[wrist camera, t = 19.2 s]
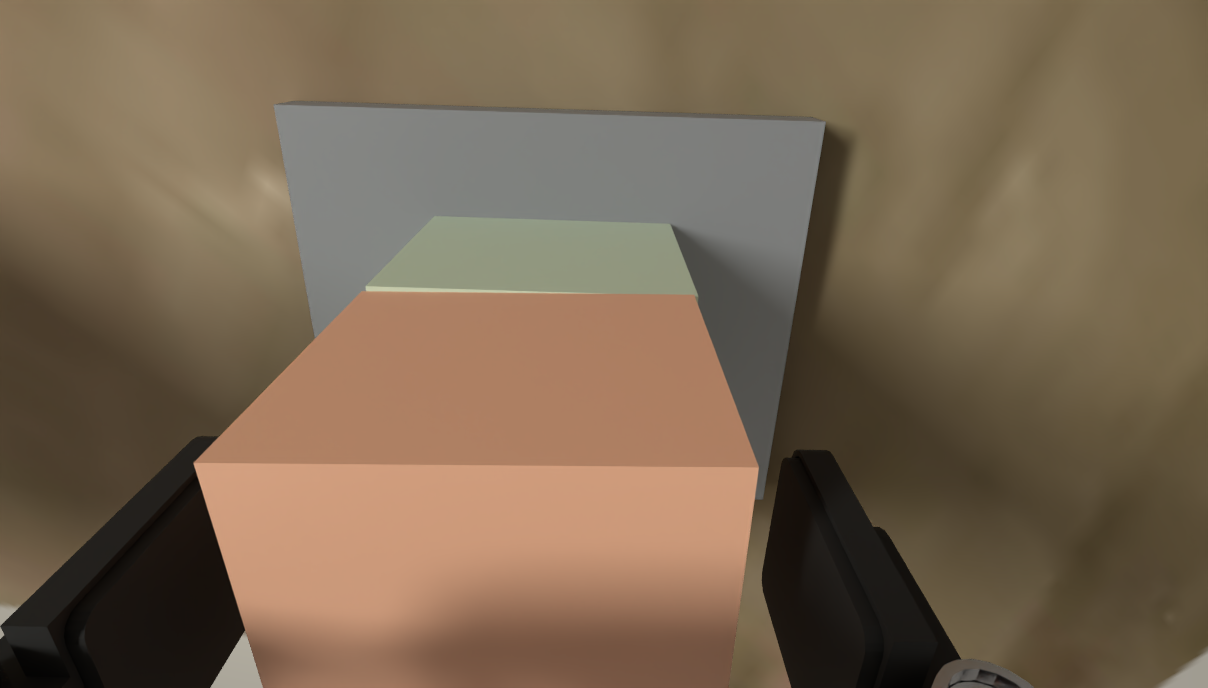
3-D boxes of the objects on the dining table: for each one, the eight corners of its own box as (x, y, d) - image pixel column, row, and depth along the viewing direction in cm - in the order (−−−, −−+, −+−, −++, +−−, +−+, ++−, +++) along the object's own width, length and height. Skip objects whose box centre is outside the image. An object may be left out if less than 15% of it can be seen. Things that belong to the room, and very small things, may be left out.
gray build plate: (294, 100, 17) (273, 104, 16) (812, 117, 17) (825, 122, 16) (354, 468, 22) (341, 490, 21) (754, 477, 22) (762, 499, 21)
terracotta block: (361, 290, 12) (193, 462, 7) (694, 294, 12) (759, 467, 7) (401, 548, 15) (299, 805, 10) (674, 550, 15) (711, 806, 10)
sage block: (434, 216, 17) (365, 286, 12) (670, 223, 17) (698, 295, 12) (450, 418, 20) (398, 544, 15) (654, 424, 20) (672, 551, 15)
